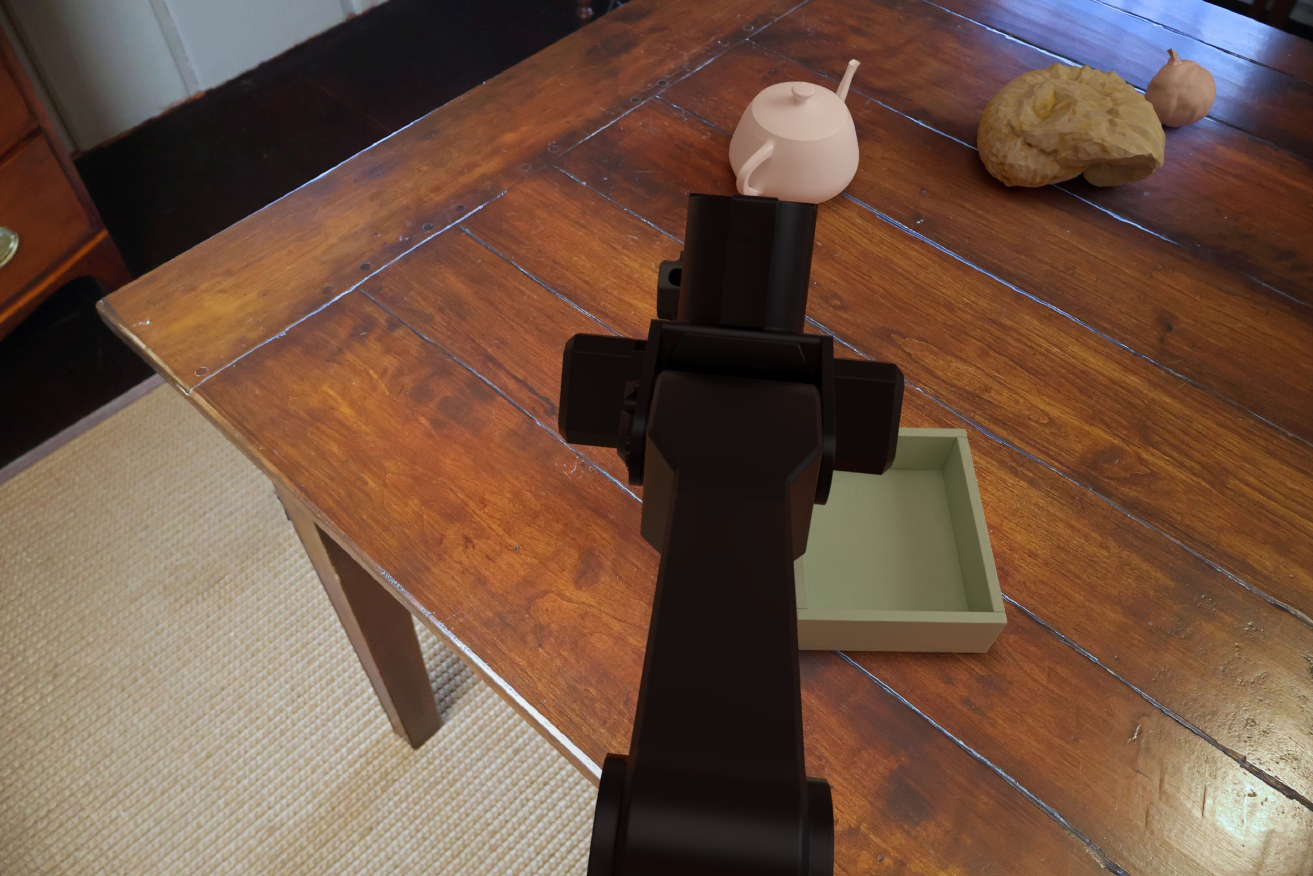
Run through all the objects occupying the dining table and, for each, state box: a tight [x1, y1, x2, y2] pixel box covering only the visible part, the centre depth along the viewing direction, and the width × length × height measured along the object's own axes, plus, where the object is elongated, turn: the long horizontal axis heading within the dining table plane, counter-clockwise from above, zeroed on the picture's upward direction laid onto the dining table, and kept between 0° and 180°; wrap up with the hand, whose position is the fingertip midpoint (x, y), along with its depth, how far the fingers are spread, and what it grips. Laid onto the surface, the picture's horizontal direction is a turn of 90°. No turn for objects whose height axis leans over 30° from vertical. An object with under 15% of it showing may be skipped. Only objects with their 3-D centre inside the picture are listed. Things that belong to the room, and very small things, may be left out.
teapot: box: [728, 58, 861, 205], centre depth 91 cm, size 20×12×10 cm, turn 142°
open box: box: [794, 427, 1008, 654], centre depth 68 cm, size 16×14×5 cm
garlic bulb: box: [1143, 47, 1217, 128], centre depth 98 cm, size 7×6×8 cm
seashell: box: [976, 62, 1166, 188], centre depth 92 cm, size 17×11×15 cm
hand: (727, 388), depth 62 cm, fingers closed on pill bottle, 6 cm apart
